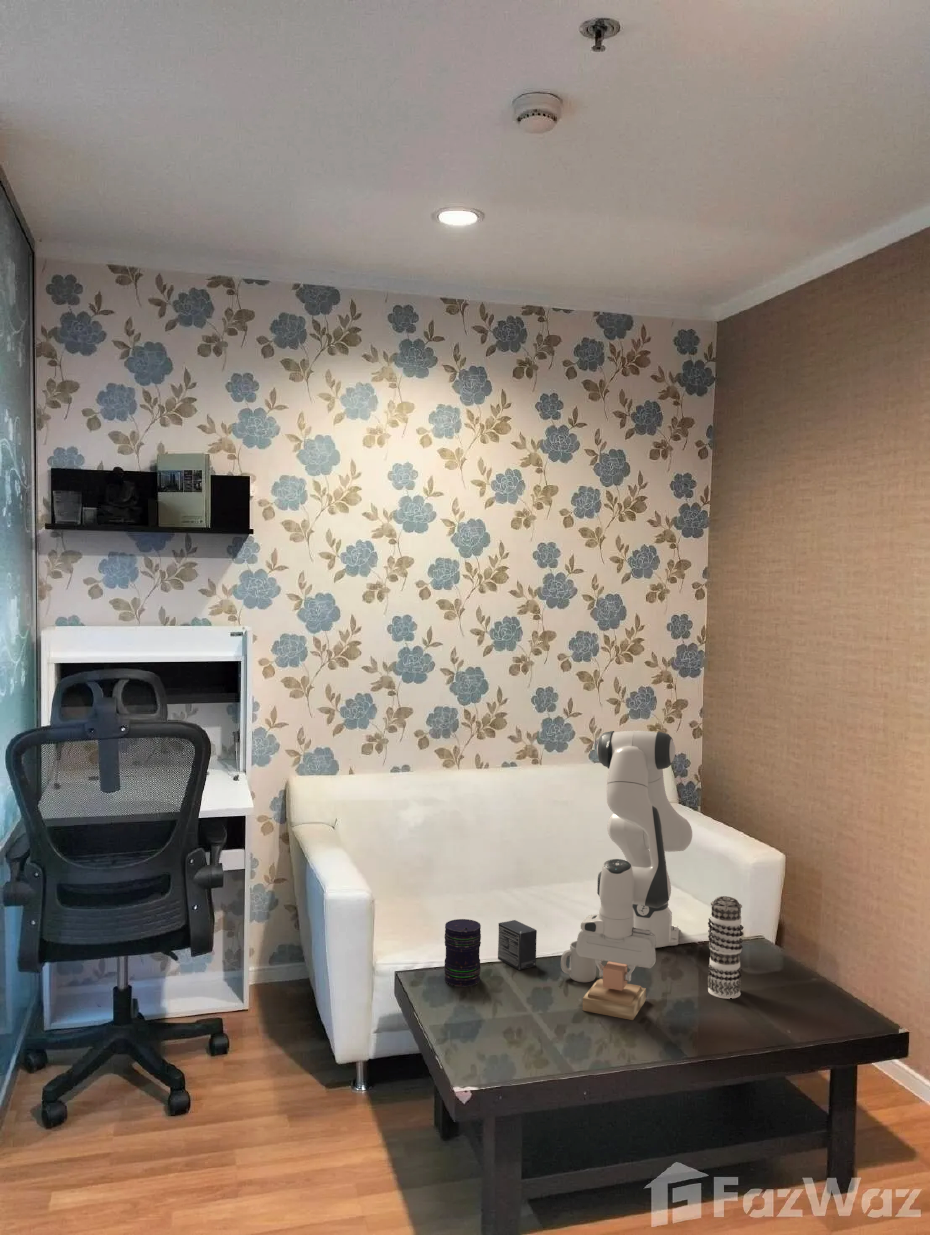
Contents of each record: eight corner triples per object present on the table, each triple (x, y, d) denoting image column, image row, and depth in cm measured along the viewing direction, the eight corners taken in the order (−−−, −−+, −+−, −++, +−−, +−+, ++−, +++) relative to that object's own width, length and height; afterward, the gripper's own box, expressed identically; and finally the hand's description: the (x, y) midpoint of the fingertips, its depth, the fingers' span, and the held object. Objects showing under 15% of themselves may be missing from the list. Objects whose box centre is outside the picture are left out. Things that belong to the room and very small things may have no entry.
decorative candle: (699, 992, 267) (701, 899, 266) (717, 982, 274) (719, 891, 273) (731, 1002, 261) (733, 907, 260) (748, 992, 268) (750, 899, 267)
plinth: (597, 991, 267) (597, 976, 266) (645, 1000, 261) (646, 985, 261) (582, 1010, 255) (582, 994, 255) (632, 1020, 249) (633, 1004, 249)
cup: (599, 981, 273) (600, 949, 273) (564, 984, 271) (564, 951, 271) (591, 971, 280) (591, 940, 280) (556, 973, 278) (557, 942, 278)
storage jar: (439, 974, 277) (440, 920, 276) (473, 970, 280) (474, 917, 279) (450, 988, 267) (451, 933, 266) (485, 984, 270) (486, 929, 270)
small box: (537, 966, 284) (538, 929, 283) (519, 971, 280) (519, 933, 279) (514, 954, 292) (515, 918, 292) (496, 958, 289) (497, 922, 288)
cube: (608, 980, 261) (608, 961, 261) (627, 983, 259) (627, 964, 259) (602, 987, 257) (603, 967, 256) (621, 990, 254) (622, 971, 254)
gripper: (659, 927, 256) (658, 980, 256) (582, 915, 264) (581, 967, 265) (653, 935, 250) (652, 990, 251) (574, 922, 258) (573, 975, 259)
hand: (615, 978), depth 258 cm, fingers open, 5 cm apart
